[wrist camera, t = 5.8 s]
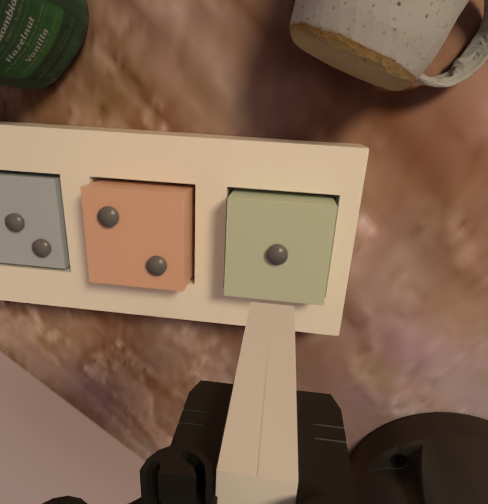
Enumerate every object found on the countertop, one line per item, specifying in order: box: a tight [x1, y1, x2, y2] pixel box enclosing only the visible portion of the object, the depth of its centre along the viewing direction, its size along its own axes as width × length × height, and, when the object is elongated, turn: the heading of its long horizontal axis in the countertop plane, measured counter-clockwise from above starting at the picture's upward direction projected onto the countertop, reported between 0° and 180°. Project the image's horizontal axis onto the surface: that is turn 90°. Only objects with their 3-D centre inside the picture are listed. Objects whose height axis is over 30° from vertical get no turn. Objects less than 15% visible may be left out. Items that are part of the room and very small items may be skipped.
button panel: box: [0, 121, 369, 336], centre depth 26 cm, size 12×26×3 cm, turn 87°
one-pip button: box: [224, 188, 338, 305], centre depth 23 cm, size 6×6×3 cm
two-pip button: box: [80, 178, 195, 291], centre depth 24 cm, size 6×6×3 cm
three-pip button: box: [0, 170, 70, 269], centre depth 26 cm, size 6×6×3 cm
